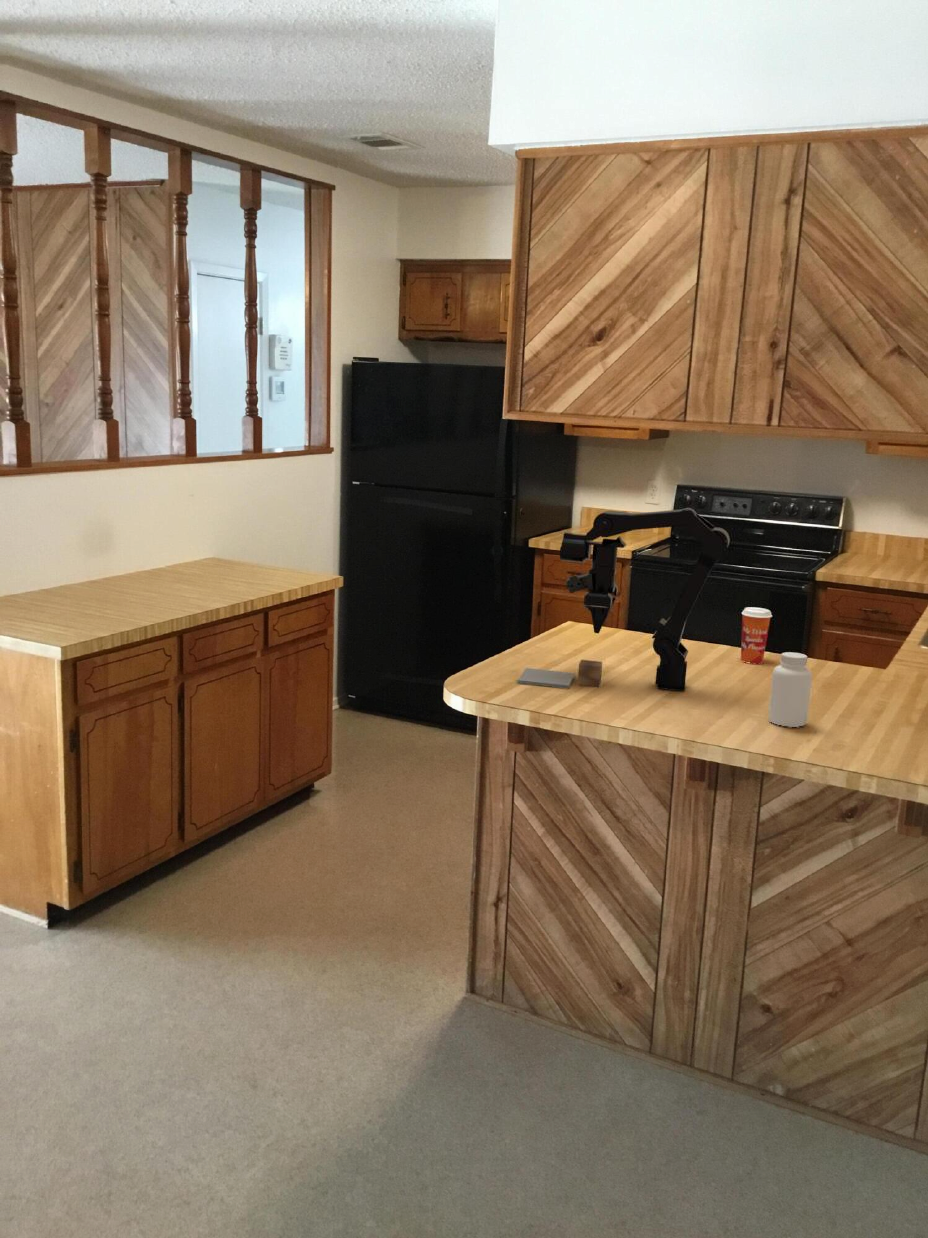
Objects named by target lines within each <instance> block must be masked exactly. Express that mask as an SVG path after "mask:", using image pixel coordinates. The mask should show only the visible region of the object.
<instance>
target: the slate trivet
mask: <svg viewBox="0 0 928 1238" xmlns="http://www.w3.org/2000/svg"><path fill="white" fill-rule="evenodd" d="M575 677H576V672H568V671H559V670H550V669H539V668H531V667H530V668H529V667H525V669H524V670H523V672H522V674H521V675H520V676H519V677H518V679H517V684H519V685H528V684H534V685H533V686H537V685H542V686H541V687H547V686H552V687H551V688H556V687H557V688H558V689H566V688H567V689H568V690H569V689H570V688H571V685H572V683H573V681H574V679H575Z"/></svg>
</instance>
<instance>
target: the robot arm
mask: <svg viewBox="0 0 928 1238" xmlns="http://www.w3.org/2000/svg"><path fill="white" fill-rule="evenodd" d="M673 527H674V528H675V527H684V528H685V529H687V530H688V532H689V533H690V534H691V535H692V536H694V537H695V539H697V540H698V541H699V542H701V544H700V547H699V551H698V555H697V558H696V563H695V566H694V568H693V570H692V572H691V574H690V576H689V578H688V580H687V582H686V584H685V586H684V589H683V591H682V593H681V594H680V596H679V599H678V601H677V603H676V605H675V607H674V609H673V611H672V614H671V615H670V617H669V618H667V620H666V619H665V618H663V617H662V618H661V619H660V621H659V623H658V625H657V629H656V630H655V632H653V635H652V637H651V639H653V642H652V648H653V650H654V652H655V654H656V655H658V657H659V659H660V660H659V664H657V665H656V671H655V672H656V674H655V685H657V686H656V689H659V690H670V691H677V692H679V691H680V692H686V678H687V670H688V669H687V666H688V661H686V659H687V657H688V653H689V650H688V648H687V647H685V646H684V644H683V643H682V642H681V641H682V637H683V634H684V630H685V626H686V623H687V620H688V617H689V615H690V613H691V611H692V609H693V608H694V605H695V603H696V601H697V599H698V597H699V595H700V592H701V591H702V588H703V587H704V585H705V583H706V581H707V578H708V576H709V574H710V572H711V571H712V570H713V568H714V566H715V565H716V564H717V563H718V561H719V560H720V559H721V557H723V554H724V553H725V552H726V551H727V549H728V547H729V545H730V542H731V541H730V539H731V538H730V536H729V535H730V534H729V533H728V532H727V531H726V530H725V529H724V528H722V527H715V526H714V525H713V524H711V522H710V521H708V520H707V519H705V518H704V517H702V516H701V515H700V514H698V513H697V512H696V511H695V509H693V508H692V507H691V508H690V507H685V508H683V509H682V508H681V509H671V510H661V511H659V510H657V511H650V512H649V511H648V512H637V513H635V512H633V513H632V512H626V511H618V510H617V511H616V510H606V511H603V512H601V513H599V514H598V515H596V517H595V518H594V519H593V523H592V527H591V529H590V530H589V531H587V532H586V534H581V533H573V532H570V531H569V532H568V531H566V532H564V533H563V538H562V541H561V546H560V547H559V558H560V561H562V562H571V563H572V562H573V563H583V564H585V562H587V561H586V560H587V559H588V560H590V559H591V568H590V569H589V570H588V573H584V574H583V573H582V574H579V575H578V574H575V575H573V576H572V575H570V576H569V578H567V579H566V580H565V584H566V588H567V591H568V593H569V594H574V593H576V592H580V591H583V590H585V589H586V591H587V593H585V595H584V596H583V606H584V607H585V608H587V610H588V611H589V612H590V615H591V619H592V625H593V627H592V628H593V633H594V634H600V632H601V630H602V628H603V626H604V624H605V622H606V621H607V617H608V616H609V614H610V612H611V609H612V608H613V605H614V603H615V601H616V599H617V595H618V592H619V591H618V590H619V586H618V584H616V574H617V558H618V548H620V549H623V548H625V547H626V546H627V542H625V541H624V540H623V538H622V537H621V536H618V537H616V539H615V538H613V539H612V538H609V537H613V536H617V535H621V534H622V535H623V534H625V533H627V532H632V531H639V530H647V529H648V530H649V529H650V530H651V529H661V528H673ZM599 538H602V540H601V541H595V540H596V539H599ZM591 556H592V557H591ZM612 594H613V595H612Z"/></svg>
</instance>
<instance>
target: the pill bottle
mask: <svg viewBox="0 0 928 1238" xmlns="http://www.w3.org/2000/svg"><path fill="white" fill-rule="evenodd" d="M779 662H780V664H779V665H777V666H775V667H774V668H773V671H772V678H771V690H770V698H769V709H768V721H769V722H770V723H771V722H772V723H771V724H773V723H775V724H777V725H776V726H779V725H783V726H788V727H787V728H792V727H797V728H799V727H798V726H803V725H805V724H806V725H807V723H808V718H809V707H810V699H811V697H810V696H811V687H812V679H813V678H812V676H813V675H812V672H811V670H810V669H809V668H808V667H807V665H808V664H807V663H808V656H807V655H806V654H804V653H800V652H791V651H788V652H787V651H786V652H782V653H781V654H780V661H779ZM775 724H774V725H775ZM806 725H805V726H806ZM783 726H782V727H783ZM803 727H804V726H803Z"/></svg>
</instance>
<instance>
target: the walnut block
mask: <svg viewBox="0 0 928 1238" xmlns="http://www.w3.org/2000/svg"><path fill="white" fill-rule="evenodd" d="M602 669H603V661H598V660H588V659H581V660H580V661H579V664H578V670H577V672H578V674H577V675H578V676H577V685H578V686H584V687H593V688H594V687H597V688H599V687H600V685H601V682H602Z"/></svg>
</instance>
